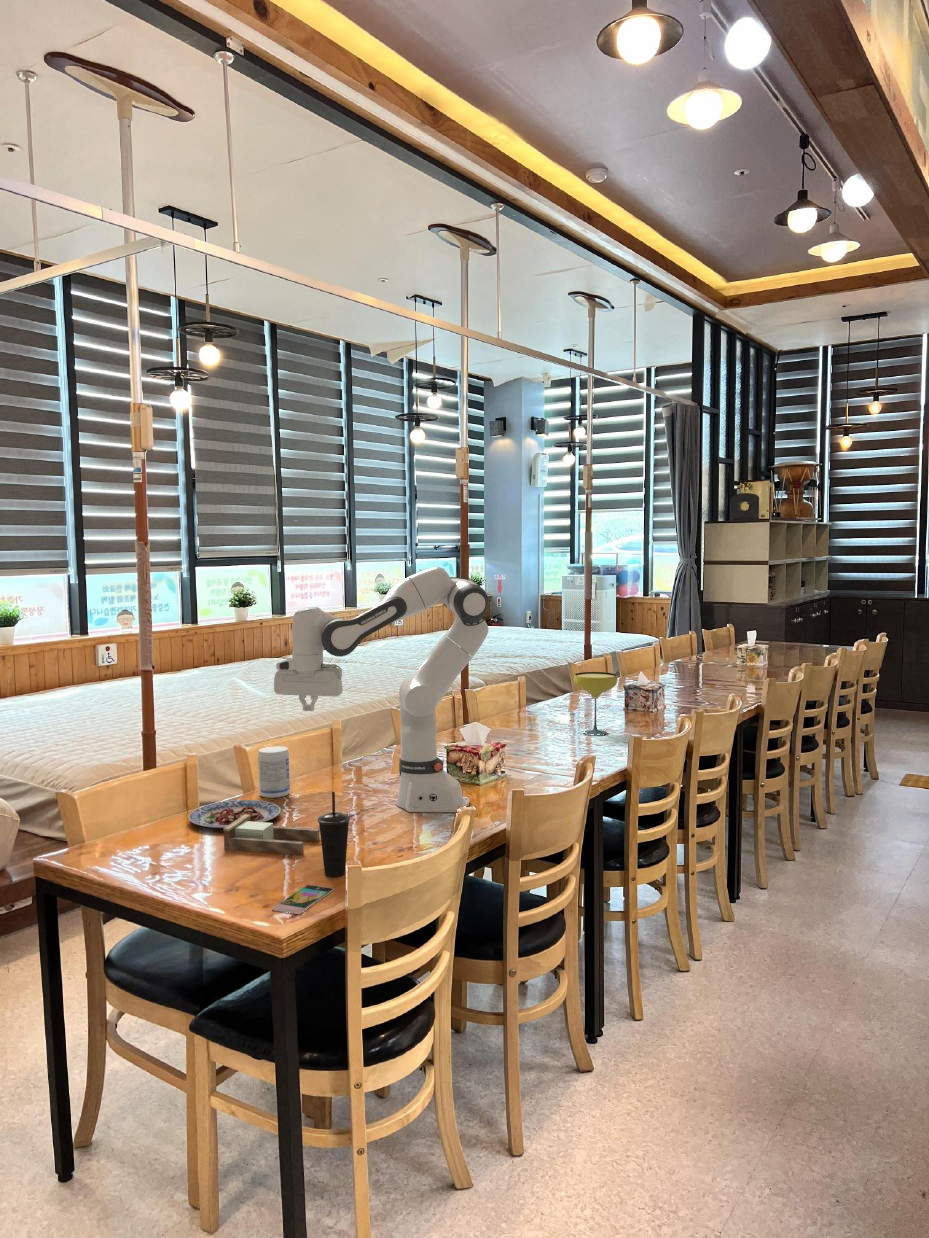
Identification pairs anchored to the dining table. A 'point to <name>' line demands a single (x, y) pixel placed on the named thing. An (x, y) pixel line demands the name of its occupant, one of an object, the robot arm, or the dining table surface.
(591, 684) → the cocktail glass
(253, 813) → the ceramic plate
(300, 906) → the smartphone
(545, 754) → the dining table surface
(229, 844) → the bay
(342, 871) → the drinking cup
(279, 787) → the supplement tub
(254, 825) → the pale green block
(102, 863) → the dining table surface
